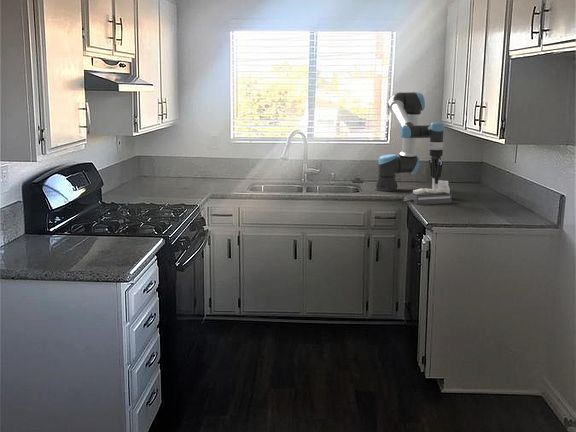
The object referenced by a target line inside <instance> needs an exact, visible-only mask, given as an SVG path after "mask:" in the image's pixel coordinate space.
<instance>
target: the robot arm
mask: <svg viewBox="0 0 576 432" xmlns="http://www.w3.org/2000/svg"><path fill="white" fill-rule="evenodd" d="M425 101H426V100H425V97H424V95H423V93H421V92H415V91H412V92H410V91H409V92H408V91H407V92H396V93H393V94H392V95H391V97H390V98H389V99H388V102H387V108H388V110H389V112H390V113H391V114H392V115H393V116H394V118H395V120H396V122H397V123H398V125H399V137H400V138H402V144H401V151H400V152H399V153H398V154H399V155H398V156H397V154H394V153H392V154H383V155H380V156H379V158H378V164H377V165H378V168H377V169H378V171H377V180H376V183H375V187H374V189H375V190H376V191H380V192H382V191H383V192H395V191H398V190H399V185H398V182H397V178H396V176H397V175H403V174H404V175H407V174H408V175H411V174H415V173H417V171H418V170H419V169H420V158H419V156H418V154H417V152H416V145H417V139H429V156H430V159H429V160H428V163H429V174H430V175H429V176H430V177H431V178H432V180H431V181H432V185H431V187H432V188H431V189H438V180H439V178H441V175H442V170H443V164H444V162H443V161H442V157H443V153H444V151H443V149H444V127H445V126H444V123H443V122H431V123H430V124H427V125H425V124H424V125H418V123H419V122H418V120H419V116H421V113H422V112H423V111H424V110H425V107H426V102H425Z"/></svg>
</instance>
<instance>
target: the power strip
mask: <svg viewBox="0 0 576 432" xmlns="http://www.w3.org/2000/svg"><path fill="white" fill-rule="evenodd" d="M452 194H453V193H446V192H437V193H431V192H424V193H420V194H414V193H413V192H412V193H409V199H405V200H404V199H403V200H402V202H403V203H411V204H413V205H418V206H419V205H434V204H452V199H453V195H452Z"/></svg>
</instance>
